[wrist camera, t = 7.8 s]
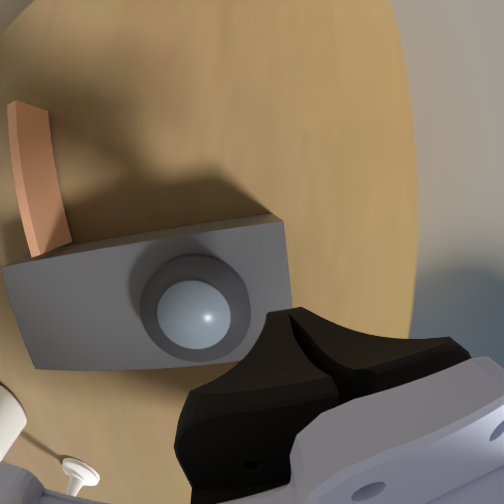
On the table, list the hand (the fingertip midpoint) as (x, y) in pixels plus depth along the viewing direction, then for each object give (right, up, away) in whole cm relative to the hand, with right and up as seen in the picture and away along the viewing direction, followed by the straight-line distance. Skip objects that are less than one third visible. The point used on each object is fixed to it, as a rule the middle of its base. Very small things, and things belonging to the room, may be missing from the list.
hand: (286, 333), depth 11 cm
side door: (-16, +8, +7) cm, 19 cm away
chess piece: (-21, -23, +13) cm, 34 cm away
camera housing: (-8, +1, +9) cm, 12 cm away
